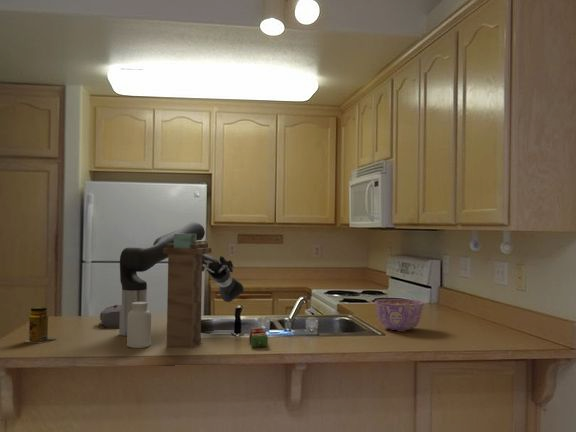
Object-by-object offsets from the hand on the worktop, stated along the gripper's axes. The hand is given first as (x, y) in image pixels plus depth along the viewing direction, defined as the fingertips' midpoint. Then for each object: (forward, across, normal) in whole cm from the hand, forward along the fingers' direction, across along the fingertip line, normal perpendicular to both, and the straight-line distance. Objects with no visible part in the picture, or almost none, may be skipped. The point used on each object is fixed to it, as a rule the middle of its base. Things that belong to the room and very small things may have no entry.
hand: (210, 257), depth 217 cm
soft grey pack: (-21, -43, +22) cm, 53 cm away
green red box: (0, +25, +34) cm, 42 cm away
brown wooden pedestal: (+6, 0, +37) cm, 38 cm away
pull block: (+18, 0, +5) cm, 19 cm away
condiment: (+13, -52, +42) cm, 68 cm away
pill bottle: (+12, -14, +41) cm, 45 cm away
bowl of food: (-37, +74, +13) cm, 84 cm away
